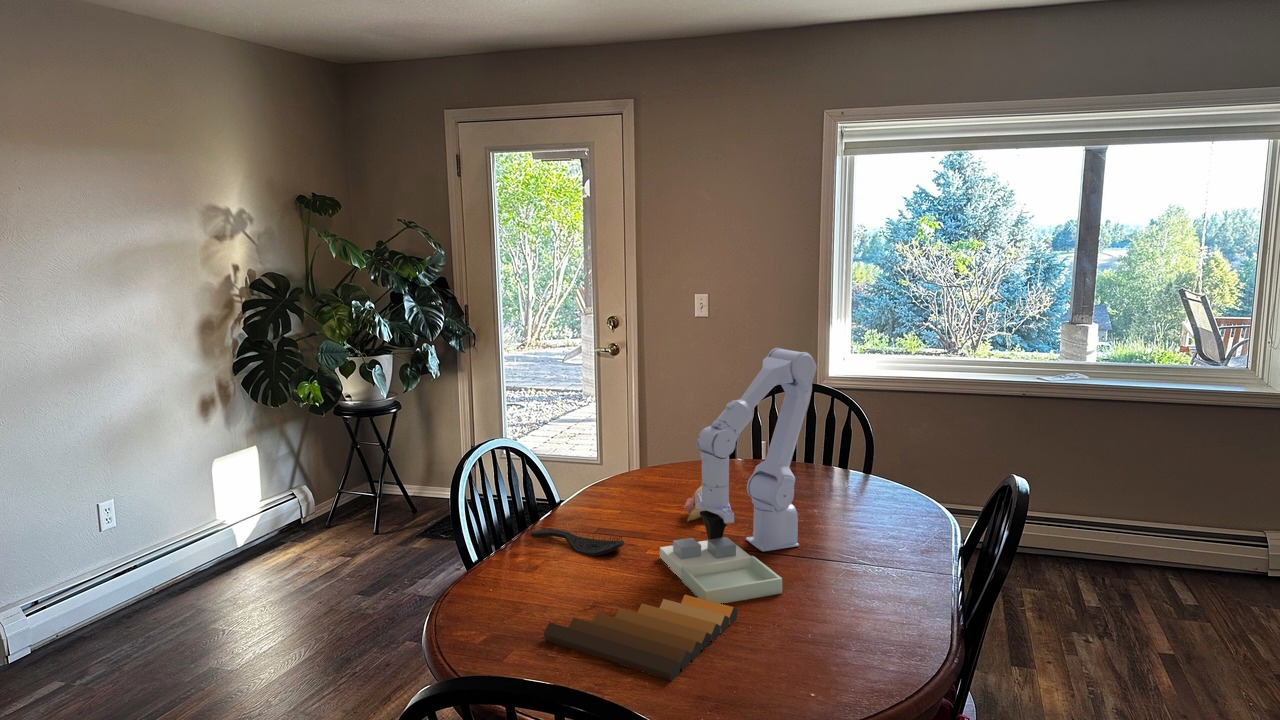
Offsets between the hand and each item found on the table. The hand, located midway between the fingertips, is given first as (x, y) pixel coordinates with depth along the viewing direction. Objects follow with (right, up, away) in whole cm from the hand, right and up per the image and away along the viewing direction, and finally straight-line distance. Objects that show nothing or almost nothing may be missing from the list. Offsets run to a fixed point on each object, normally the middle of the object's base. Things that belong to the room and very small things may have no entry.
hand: (714, 544), depth 172 cm
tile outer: (-6, -1, -3) cm, 7 cm away
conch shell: (-1, 0, +25) cm, 25 cm away
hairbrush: (-31, -3, +10) cm, 32 cm away
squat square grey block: (+1, -1, -3) cm, 3 cm away
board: (-2, -4, -2) cm, 5 cm away
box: (+2, -5, -14) cm, 15 cm away
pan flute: (-16, -9, -30) cm, 35 cm away
